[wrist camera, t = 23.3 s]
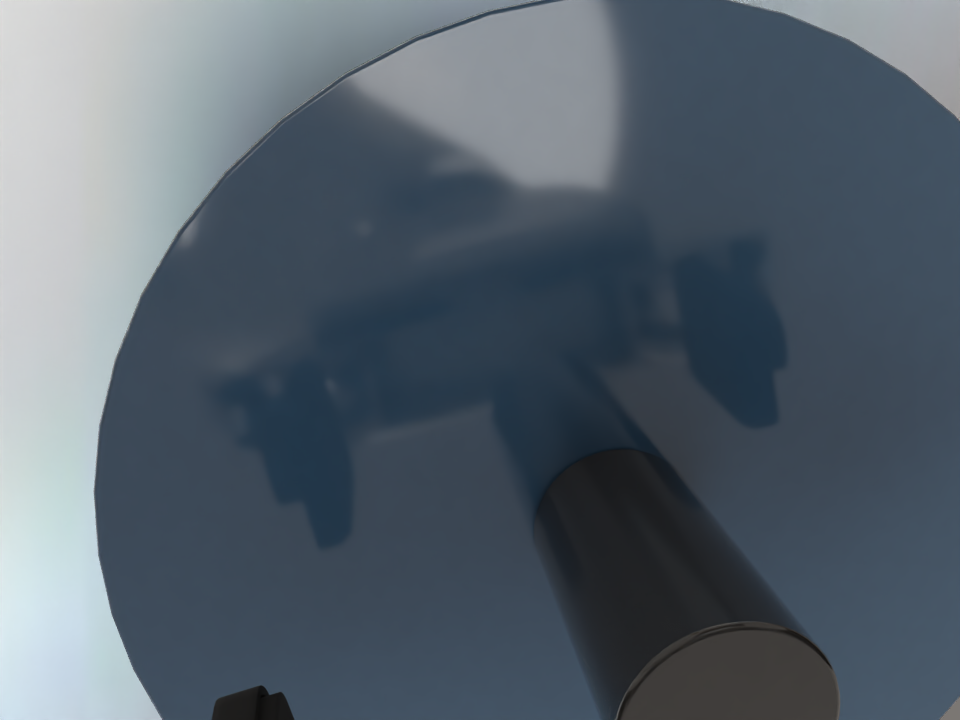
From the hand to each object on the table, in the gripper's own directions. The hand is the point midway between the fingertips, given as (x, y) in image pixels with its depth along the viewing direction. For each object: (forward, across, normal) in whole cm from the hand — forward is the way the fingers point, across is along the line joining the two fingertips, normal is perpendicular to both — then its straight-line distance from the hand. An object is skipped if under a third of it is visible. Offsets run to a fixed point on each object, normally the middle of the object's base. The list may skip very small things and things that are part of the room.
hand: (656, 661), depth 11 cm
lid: (+4, -1, 0) cm, 5 cm away
